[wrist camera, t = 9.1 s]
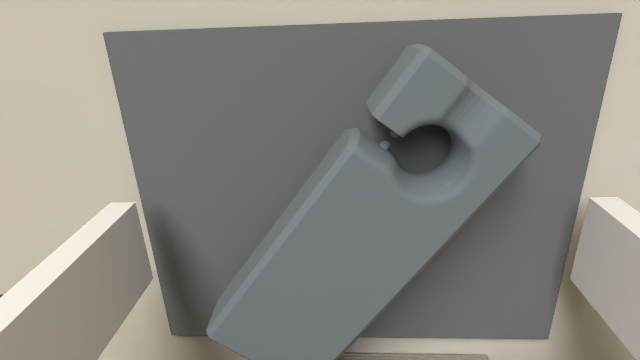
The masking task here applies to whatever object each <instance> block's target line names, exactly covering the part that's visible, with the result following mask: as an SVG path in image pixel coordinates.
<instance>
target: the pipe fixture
mask: <svg viewBox="0 0 640 360" xmlns="http://www.w3.org/2000/svg"><path fill="white" fill-rule="evenodd" d="M337 360H488V357H487V355H447V354H366V353H343V354H342V355H341V356H340V357H339V358H338V359H337Z"/></svg>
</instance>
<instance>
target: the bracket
mask: <svg viewBox="0 0 640 360" xmlns="http://www.w3.org/2000/svg"><path fill="white" fill-rule="evenodd" d="M366 103H367V106H368V109H369V111H370V113H371V114H372V116H373V117H375V118H376V119H377V120H378V121H379V122H381V123H382V124H384V125H385V126H386V127H388V128H389V129H390V130H391V131H390V135H391V136H392V137H394V138H396V137H398V136H401V137H404V136H405V135H406V134H408V133H409V132H410V131H412V130H414V129H415V128H418V127H420V126H423V125H438V126H441V127H443V128H445V129H446V130H447V132H448V133H449V135H450V139H451V145H450V149H449V152H448V154H447V156H446V157H445V159H444V160H443V161H442V162H441V163H440V164H439V165H438V166H436V167H435V168H433V169H431V170H428V171H426V172H421V173H412V172H408V171H405V170H403V169H402V168H401V167H400V166H399V165H398V163H397V161H396V159H395V157H394V155H393V154H392V153H391V152H390V151H389V150H388V149H389V147H390V143H389V142H388V141H382V142H381V143H379V142H377V141H376V140H374V139H373V138H371V137H370V136H369V135H367V134H366V133H364V132H363V131H361V130H360V129H359V128H356V127H355V128H350V129H346V130H344V131H343V133H342V134H341V135H340V137H339V138H338V139H337V141H336V142H335V143H334V145H333V146H332V147H331V149H330V150H329V151H328V153H327V154H326V155H325V157H324V158H323V159H322V161H321V162H320V163H319V165H318V166H317V167H316V169H315V170H314V171H313V173H312V174H311V175H310V177H309V178H308V180H307V181H306V182H305V184H304V185H303V186H302V188H301V189H300V190H299V192H298V193H297V194H296V196H295V197H294V198H293V200H292V201H291V202H290V204H289V205H288V206H287V208H286V209H285V210H284V212H283V213H282V214H281V216H280V217H279V218H278V220H277V221H276V222H275V224H274V225H273V226H272V228H271V229H270V230H269V232H268V233H267V234H266V236H265V237H264V238H263V240H262V241H261V242H260V244H259V245H258V246H257V248H256V249H255V250H254V252H253V253H252V254H251V256H250V257H249V258H248V260H247V261H246V262H245V264H244V265H243V266H242V268H241V269H240V270H239V272H238V273H237V274H236V276H235V277H234V278H233V280H232V281H231V282H230V284H229V285H228V286H227V288H226V289H225V291H224V292H223V293H222V295H221V296H220V297H219V299H218V301H217V304H216V306H215V309H214V311H213V313H212V316H211V319H210V322H209V325H208V327H207V330H206V332H207V335H208V338H210V339H212V340H213V341H215V342H217V343H219V344H221V345H223V346H225V347H227V348H228V349H230V350H232V351H234V352H236V353H238V354H240V355H242V356H243V357H245V358H247V359H249V360H337V359H338V358H339V357H340V356H341V355H342V354H343V353H344V352H345V351H346V350H347V349H348V348H349V347H350V346H351V344H352V343H353V342H354V341H355V340H356V339H357V338H358V337H359V336H360V335H361V334H362V333H363V332H364V331H365V330H366V329H367V328H368V327H369V325H370V324H371V323H372V322H373V321H374V320H375V319H376V318H377V317H378V316H379V315H380V314H381V313H382V312H383V311H384V310H385V309H386V308H387V306H388V305H389V304H390V303H391V302H392V301H393V300H394V299H395V298H396V297H397V296H398V295H399V294H400V293H401V292H402V291H403V290H404V289H405V287H406V286H407V285H408V284H409V283H410V282H411V281H412V280H413V279H414V278H415V277H416V276H417V275H418V274H419V273H420V272H421V271H422V270H423V268H424V267H425V266H426V265H427V264H428V263H429V262H430V261H431V260H432V259H433V258H434V257H435V256H436V255H437V254H438V253H439V252H440V250H441V249H442V248H443V247H444V246H445V245H446V244H447V243H448V242H449V241H450V240H451V239H452V238H453V237H454V236H455V235H456V234H457V233H458V231H459V230H460V229H461V228H462V227H463V226H464V225H465V224H466V223H467V222H468V221H469V220H470V219H471V218H472V217H473V216H474V215H475V214H476V212H477V211H478V210H479V209H480V208H481V207H482V206H483V205H484V204H485V203H486V202H487V201H488V200H489V199H490V198H491V197H492V196H493V195H494V193H495V192H496V191H497V190H498V189H499V188H500V187H501V186H502V185H503V184H504V183H505V182H506V181H507V180H508V179H509V178H510V177H511V176H512V174H513V173H514V172H515V171H516V170H517V169H518V168H519V167H520V166H521V165H522V164H523V163H524V162H525V161H526V160H527V159H528V158H529V157H530V155H531V154H532V153H533V152H534V151H535V150H536V149H537V148H538V147H539V146H540V145H541V134H540V133H539V132H537V131H536V130H535V129H533V128H532V127H531V126H530V125H528V124H527V123H526V122H525V121H523V120H522V119H521V118H519V117H518V116H517V115H516V114H514V113H513V112H512V111H511V110H509V109H508V108H507V107H505V106H504V105H503V104H501V103H500V102H499V101H497V100H496V99H494V98H493V97H492V96H491V95H489V94H488V93H487V92H485V91H484V90H483V89H482V88H480V87H479V86H478V85H477V84H475V83H474V82H473V81H472V80H471V79H470V78H468V77H467V76H466V75H465V74H464V73H462V72H461V71H460V70H458V69H457V68H456V67H455V66H453V65H452V64H451V63H450V62H448V61H447V60H446V59H445V58H443V57H442V56H441V55H439V54H438V53H437V52H436V51H434V50H433V49H432V48H430V47H427V46H425V45H422V44H412V45H408V46H407V47H406V48H405V50H404V51H403V52H402V54H401V55H400V56H399V58H398V59H397V61H396V62H395V63H394V65H393V66H392V67H391V69H390V70H389V71H388V73H387V74H386V75H385V77H384V78H383V79H382V81H381V82H380V83H379V85H378V86H377V87H376V89H375V90H374V91H373V93H372V94H371V95H370V97H369V98H368V99H367V101H366Z"/></svg>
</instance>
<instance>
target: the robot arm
mask: <svg viewBox="0 0 640 360" xmlns="http://www.w3.org/2000/svg"><path fill="white" fill-rule="evenodd" d="M152 279H153V276H152V272H151V267H150V263H149V259H148V255H147V250H146V246H145V242H144V237H143V233H142V229H141V225H140V220H139V216H138V212H137V208H136V203H135V202H122V203H110V204H108V205H107V206H106V207H105V208H104V209H103V210H102V211H100V212H99V213H98V214H97V215H96V216H95V217H93V218H92V219H91V220H90V221H89V222H88V223H86V224H85V225H84V226H83V227H82V228H81V229H80V230H78V231H77V232H76V233H75V234H74V235H73V236H71V237H70V238H69V239H68V240H67V241H66V242H64V243H63V244H62V245H61V246H60V247H59V248H58V249H56V250H55V251H54V252H53V253H52V254H51V255H49V256H48V257H47V258H46V259H45V260H44V261H42V262H41V263H40V264H39V265H38V266H37V267H35V268H34V269H33V270H32V271H31V272H30V273H29V274H27V275H26V276H25V277H24V278H23V279H22V280H20V281H19V282H18V283H17V284H16V285H15V286H13V287H12V288H11V289H10V290H9V291H8V292H7V293H5V294H4V295H0V360H97V359H98V358H99V356H100V355H101V353H102V352H103V350H104V349H105V347H106V346H107V345H108V343H109V342H110V340H111V339H112V337H113V336H114V334H115V333H116V331H117V330H118V329H119V327H120V326H121V324H122V323H123V321H124V320H125V318H126V317H127V315H128V314H129V313H130V311H131V310H132V308H133V307H134V305H135V304H136V302H137V301H138V299H139V298H140V297H141V295H142V294H143V292H144V291H145V289H146V288H147V286H148V285H149V284H150V282H151V281H152ZM570 279H571V281H572V282H573V283H574V284H575V286H576V287H577V288H578V289H579V290H580V292H581V293H582V294H583V295H584V297H585V298H586V299H587V300H588V302H589V303H590V304H591V305H592V306H593V308H594V309H595V310H596V311H597V313H598V314H599V315H600V316H601V318H602V319H603V320H604V321H605V322H606V324H607V325H608V326H609V327H610V329H611V330H612V331H613V332H614V333H615V335H616V336H617V337H618V338H619V340H620V341H621V342H622V343H623V345H624V346H625V347H626V348H627V349H628V351H629V352H630V353H631V354H632V356H633V357H634V358H635V359H636V360H640V213H639V212H638V211H636V210H635V209H634V208H632V207H631V206H629V205H628V204H627V203H625V202H624V201H622V200H621V199H620V198H618V197H589V201H588V205H587V209H586V213H585V217H584V222H583V226H582V230H581V234H580V239H579V243H578V247H577V251H576V255H575V260H574V264H573V268H572V272H571V276H570Z"/></svg>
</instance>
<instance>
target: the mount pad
mask: <svg viewBox="0 0 640 360" xmlns="http://www.w3.org/2000/svg"><path fill="white" fill-rule="evenodd" d="M621 17H622V13H604V14H578V15H551V16H524V17H498V18H471V19H445V20H418V21H391V22H365V23H338V24H311V25H285V26H258V27H231V28H205V29H178V30H151V31H125V32H104V33H103V35H104V40H105V44H106V49H107V53H108V57H109V62H110V66H111V71H112V75H113V79H114V84H115V88H116V93H117V97H118V101H119V106H120V110H121V114H122V119H123V123H124V128H125V132H126V136H127V141H128V145H129V150H130V154H131V158H132V163H133V167H134V172H135V176H136V180H137V185H138V189H139V194H140V198H141V202H142V207H143V211H144V216H145V220H146V224H147V229H148V233H149V238H150V242H151V246H152V251H153V255H154V259H155V264H156V268H157V273H158V277H159V281H160V286H161V290H162V295H163V299H164V303H165V308H166V312H167V317H168V321H169V325H170V330H171V334H172V335H179V336H208V335H207V332H206V330H207V327H208V325H209V322H210V319H211V316H212V313H213V311H214V309H215V306H216V304H217V301H218V299H219V297H220V296H221V295H222V293H223V292H224V291H225V289H226V288H227V286H228V285H229V284H230V282H231V281H232V280H233V278H234V277H235V276H236V274H237V273H238V272H239V270H240V269H241V268H242V266H243V265H244V264H245V262H246V261H247V260H248V258H249V257H250V256H251V254H252V253H253V252H254V250H255V249H256V248H257V246H258V245H259V244H260V242H261V241H262V240H263V238H264V237H265V236H266V234H267V233H268V232H269V230H270V229H271V228H272V226H273V225H274V224H275V222H276V221H277V220H278V218H279V217H280V216H281V214H282V213H283V212H284V210H285V209H286V208H287V206H288V205H289V204H290V202H291V201H292V200H293V198H294V197H295V196H296V194H297V193H298V192H299V190H300V189H301V188H302V186H303V185H304V184H305V182H306V181H307V180H308V178H309V177H310V175H311V174H312V173H313V171H314V170H315V169H316V167H317V166H318V165H319V163H320V162H321V161H322V159H323V158H324V157H325V155H326V154H327V153H328V151H329V150H330V149H331V147H332V146H333V145H334V143H335V142H336V141H337V139H338V138H339V137H340V135H341V134H342V133H343V131H344V130H346V129H350V128H355V127H356V128H359V129H360V130H361V131H363V132H364V133H366V134H367V135H369V136H370V137H371V138H373V139H374V140H376V141H377V142H379V143H381V142H382V141H388V142H389V143H390V147H389V149H388V150H389V151H390V152H391V153H392V154H393V155H394V157H395V159H396V161H397V163H398V165H399V166H400V167H401V168H402V169H403V170H405V171H408V172H412V173H421V172H426V171H428V170H431V169H433V168H435V167H436V166H438V165H439V164H440V163H441V162H442V161H443V160H444V159H445V157H446V156H447V154H448V152H449V149H450V145H451V139H450V135H449V133H448V132H447V130H446V129H445V128H443V127H441V126H438V125H423V126H420V127H418V128H415V129H414V130H412V131H410V132H409V133H408V134H406V135H405V136H404V137H401V136H398V137H396V138H394V137H392V136H391V135H390V131H391V130H390V129H389V128H388V127H386V126H385V125H384V124H382V123H381V122H379V121H378V120H377V119H376V118H375V117H373V116H372V114H371V113H370V111H369V109H368V106H367V103H366V101H367V99H368V98H369V97H370V95H371V94H372V93H373V91H374V90H375V89H376V87H377V86H378V85H379V83H380V82H381V81H382V79H383V78H384V77H385V75H386V74H387V73H388V71H389V70H390V69H391V67H392V66H393V65H394V63H395V62H396V61H397V59H398V58H399V56H400V55H401V54H402V52H403V51H404V50H405V48H406V47H407V46H408V45H412V44H422V45H425V46H427V47H430V48H432V49H433V50H434V51H436V52H437V53H438V54H439V55H441V56H442V57H443V58H445V59H446V60H447V61H448V62H450V63H451V64H452V65H453V66H455V67H456V68H457V69H458V70H460V71H461V72H462V73H464V74H465V75H466V76H467V77H468V78H470V79H471V80H472V81H473V82H474V83H475V84H477V85H478V86H479V87H480V88H482V89H483V90H484V91H485V92H487V93H488V94H489V95H491V96H492V97H493V98H494V99H496V100H497V101H499V102H500V103H501V104H503V105H504V106H505V107H507V108H508V109H509V110H511V111H512V112H513V113H514V114H516V115H517V116H518V117H519V118H521V119H522V120H523V121H525V122H526V123H527V124H528V125H530V126H531V127H532V128H533V129H535V130H536V131H537V132H539V133H540V134H541V145H540V146H539V147H538V148H537V149H536V150H535V151H534V152H533V153H532V154H531V155H530V157H529V158H528V159H527V160H526V161H525V162H524V163H523V164H522V165H521V166H520V167H519V168H518V169H517V170H516V171H515V172H514V173H513V174H512V176H511V177H510V178H509V179H508V180H507V181H506V182H505V183H504V184H503V185H502V186H501V187H500V188H499V189H498V190H497V191H496V192H495V193H494V195H493V196H492V197H491V198H490V199H489V200H488V201H487V202H486V203H485V204H484V205H483V206H482V207H481V208H480V209H479V210H478V211H477V212H476V214H475V215H474V216H473V217H472V218H471V219H470V220H469V221H468V222H467V223H466V224H465V225H464V226H463V227H462V228H461V229H460V230H459V231H458V233H457V234H456V235H455V236H454V237H453V238H452V239H451V240H450V241H449V242H448V243H447V244H446V245H445V246H444V247H443V248H442V249H441V250H440V252H439V253H438V254H437V255H436V256H435V257H434V258H433V259H432V260H431V261H430V262H429V263H428V264H427V265H426V266H425V267H424V268H423V270H422V271H421V272H420V273H419V274H418V275H417V276H416V277H415V278H414V279H413V280H412V281H411V282H410V283H409V284H408V285H407V286H406V287H405V289H404V290H403V291H402V292H401V293H400V294H399V295H398V296H397V297H396V298H395V299H394V300H393V301H392V302H391V303H390V304H389V305H388V306H387V308H386V309H385V310H384V311H383V312H382V313H381V314H380V315H379V316H378V317H377V318H376V319H375V320H374V321H373V322H372V323H371V324H370V325H369V327H368V328H367V329H366V330H365V331H364V332H363V333H362V334H361V335H360V336H359V337H382V338H484V339H548V337H549V333H550V328H551V324H552V319H553V315H554V311H555V306H556V302H557V298H558V293H559V289H560V284H561V280H562V276H563V271H564V267H565V262H566V258H567V254H568V249H569V245H570V240H571V236H572V232H573V227H574V223H575V219H576V214H577V210H578V205H579V201H580V197H581V192H582V188H583V183H584V179H585V175H586V170H587V166H588V162H589V157H590V153H591V148H592V144H593V140H594V135H595V131H596V126H597V122H598V118H599V113H600V109H601V104H602V100H603V96H604V91H605V87H606V83H607V78H608V74H609V69H610V65H611V61H612V56H613V52H614V47H615V43H616V39H617V34H618V30H619V26H620V21H621Z"/></svg>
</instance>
